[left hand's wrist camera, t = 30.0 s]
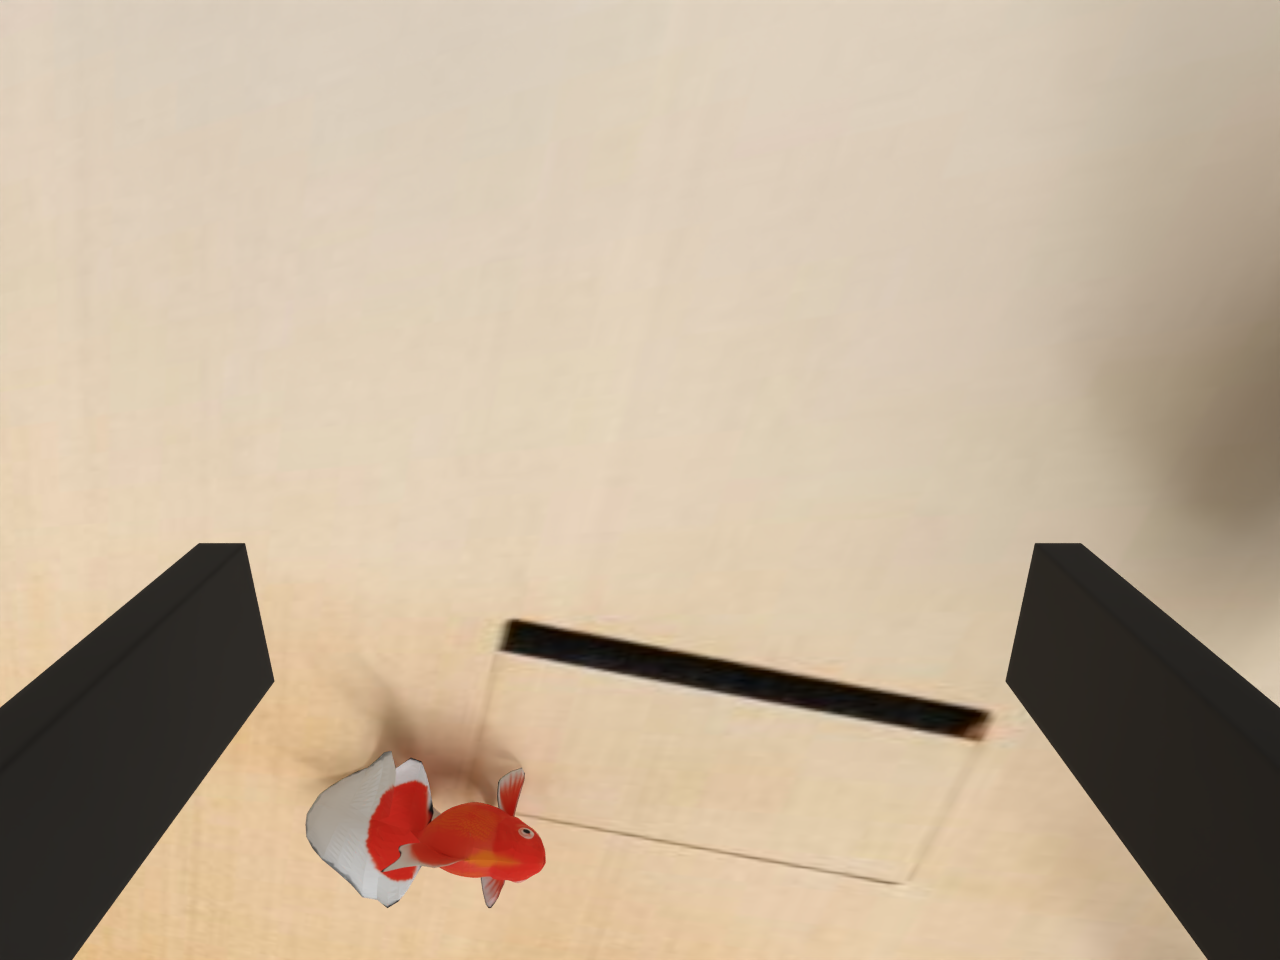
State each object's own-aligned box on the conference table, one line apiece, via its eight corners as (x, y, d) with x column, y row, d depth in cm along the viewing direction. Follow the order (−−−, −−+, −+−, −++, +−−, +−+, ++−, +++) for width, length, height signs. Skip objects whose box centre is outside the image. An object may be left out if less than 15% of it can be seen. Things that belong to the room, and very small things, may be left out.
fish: (522, 947, 51) (443, 1035, 41) (346, 821, 55) (239, 873, 46) (589, 802, 50) (526, 856, 41) (407, 687, 55) (312, 712, 46)
